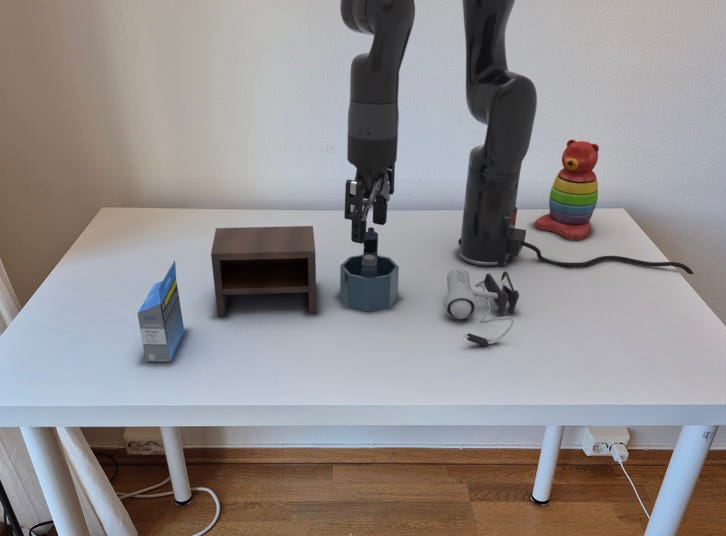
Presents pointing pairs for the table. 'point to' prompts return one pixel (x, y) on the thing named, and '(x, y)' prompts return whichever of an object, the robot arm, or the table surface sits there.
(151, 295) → the blue cardboard box
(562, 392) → the table surface
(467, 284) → the clip-on lamp
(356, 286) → the pen pot
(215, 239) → the block
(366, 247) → the vaping device
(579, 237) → the stacking bear
